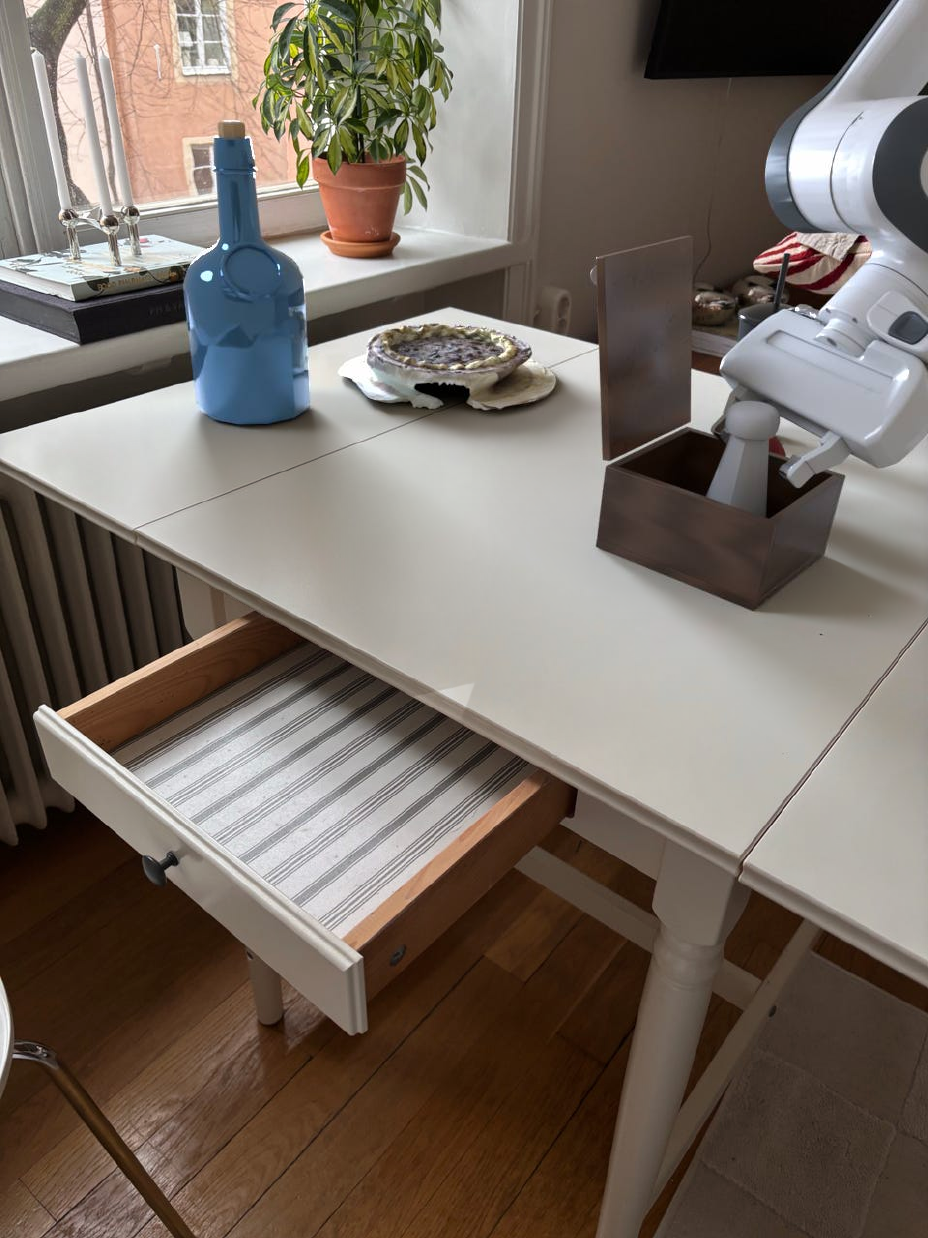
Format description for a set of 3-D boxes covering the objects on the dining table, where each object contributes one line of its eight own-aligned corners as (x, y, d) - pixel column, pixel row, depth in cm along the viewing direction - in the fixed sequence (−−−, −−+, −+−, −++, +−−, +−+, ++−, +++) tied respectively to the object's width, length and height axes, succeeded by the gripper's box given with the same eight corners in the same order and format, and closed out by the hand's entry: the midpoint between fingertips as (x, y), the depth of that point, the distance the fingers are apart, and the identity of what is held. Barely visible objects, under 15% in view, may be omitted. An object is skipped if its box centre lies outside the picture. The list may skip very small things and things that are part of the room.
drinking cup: (742, 418, 115) (777, 243, 105) (797, 437, 110) (839, 256, 100) (702, 431, 111) (735, 250, 100) (757, 452, 106) (797, 264, 95)
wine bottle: (188, 395, 115) (153, 114, 99) (296, 384, 120) (279, 114, 104) (209, 436, 104) (174, 128, 88) (327, 422, 109) (314, 128, 93)
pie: (317, 355, 130) (316, 318, 127) (500, 339, 139) (502, 305, 137) (384, 428, 108) (383, 385, 106) (594, 403, 118) (599, 363, 115)
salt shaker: (691, 555, 83) (718, 412, 76) (694, 527, 88) (719, 390, 81) (760, 565, 82) (793, 421, 75) (759, 536, 87) (790, 398, 80)
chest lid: (693, 235, 83) (649, 236, 86) (604, 256, 74) (558, 257, 77) (691, 421, 90) (650, 417, 93) (610, 461, 81) (567, 455, 84)
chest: (824, 554, 86) (846, 474, 82) (754, 611, 77) (774, 524, 73) (674, 501, 95) (686, 426, 90) (595, 546, 86) (605, 465, 82)
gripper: (777, 275, 84) (665, 394, 86) (958, 340, 68) (815, 484, 70) (807, 323, 87) (699, 436, 89) (985, 395, 71) (849, 530, 73)
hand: (751, 458), depth 79 cm, fingers open, 8 cm apart
